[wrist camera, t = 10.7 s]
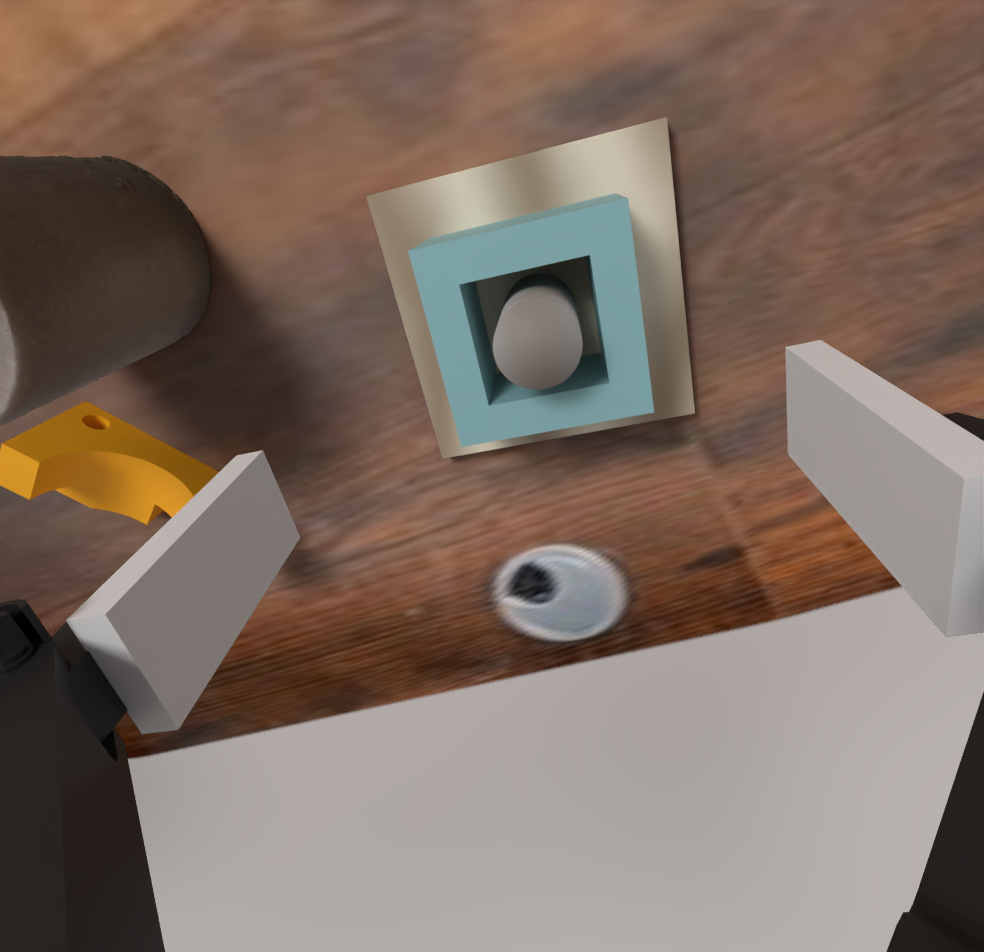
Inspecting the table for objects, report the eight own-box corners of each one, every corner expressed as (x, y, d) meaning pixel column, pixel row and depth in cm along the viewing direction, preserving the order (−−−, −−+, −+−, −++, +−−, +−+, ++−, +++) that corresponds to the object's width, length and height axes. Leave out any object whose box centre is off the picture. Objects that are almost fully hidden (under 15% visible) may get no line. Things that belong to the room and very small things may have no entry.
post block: (445, 451, 36) (419, 521, 29) (371, 195, 30) (316, 204, 23) (691, 406, 34) (729, 471, 26) (663, 118, 28) (702, 101, 21)
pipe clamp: (71, 455, 39) (-13, 506, 33) (87, 400, 37) (1, 443, 31) (248, 546, 41) (198, 609, 35) (272, 497, 39) (223, 555, 33)
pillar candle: (112, 111, 29) (-250, 66, 16) (252, 287, 33) (47, 371, 19) (-5, 232, 32) (-392, 277, 19) (133, 382, 36) (-115, 510, 22)
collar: (472, 410, 34) (461, 447, 29) (428, 238, 30) (407, 251, 25) (639, 378, 32) (654, 412, 28) (615, 193, 28) (628, 197, 24)
